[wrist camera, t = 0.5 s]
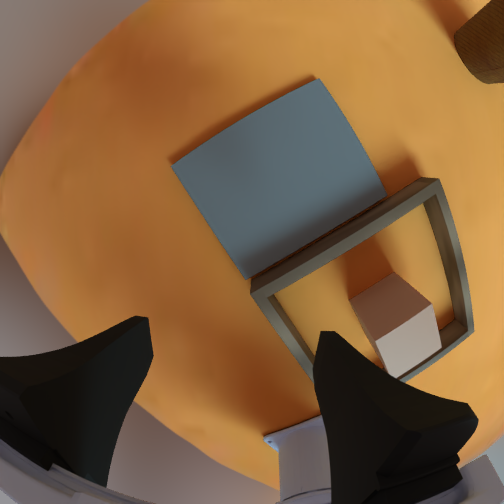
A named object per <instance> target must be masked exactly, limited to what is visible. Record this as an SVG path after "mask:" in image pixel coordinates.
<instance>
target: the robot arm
mask: <svg viewBox="0 0 504 504" xmlns="http://www.w3.org/2000/svg"><path fill="white" fill-rule="evenodd" d="M153 356H154V355H153V348H152V342H151V335H150V327H149V320H148V317H141V316H134V317H131V318H129V319H127V320H125V321H123V322H121V323H119V324H117V325H115V326H113V327H111V328H109V329H107V330H105V331H103V332H101V333H99V334H97V335H95V336H93V337H90V338H88V339H86V340H84V341H82V342H79V343H77V344H74V345H71V346H68V347H65V348H62V349H59V350H55V351H51V352H46V353H42V354H36V355H30V356H20V357H0V489H1V490H2V491H3V492H4V493H5V494H7V495H8V496H9V497H10V498H11V499H13V500H14V501H15V502H17V503H18V504H154V503H151V502H147V501H143V500H140V499H136V498H134V497H130V496H127V495H124V494H121V493H119V492H116V491H113V490H110V489H108V488H106V486H107V480H108V475H109V469H110V464H111V460H112V456H113V452H114V449H115V445H116V441H117V438H118V435H119V432H120V429H121V427H122V424H123V421H124V418H125V416H126V413H127V411H128V409H129V407H130V406H131V404H132V402H133V400H134V398H135V396H136V394H137V392H138V391H139V389H140V387H141V385H142V383H143V381H144V379H145V377H146V375H147V373H148V370H149V368H150V365H151V362H152V359H153ZM312 370H313V380H314V388H315V392H316V396H317V400H318V404H319V407H320V411H321V415H320V416H318V417H315V418H313V419H310V420H308V421H305V422H303V423H300V424H298V425H295V426H292V427H290V428H287V429H284V430H281V431H278V432H275V433H272V434H269V435H266V436H264V437H263V440H264V441H265V442H266V443H267V444H268V445H270V446H271V447H272V448H273V449H275V450H276V451H277V452H278V453H279V475H280V502H276V504H501V503H502V502H503V501H504V486H503V484H502V482H501V480H500V478H499V476H498V475H497V473H496V471H495V469H494V467H493V466H492V463H491V462H490V460H489V458H488V456H487V455H483V456H481V457H480V458H478V459H476V460H474V461H472V462H470V463H468V464H466V465H465V466H463V467H462V468H460V469H458V467H457V465H456V464H457V463H458V462H459V461H460V458H459V456H458V454H457V453H458V452H459V451H460V449H461V448H462V447H463V446H464V445H465V444H466V442H467V441H468V440H469V439H470V437H471V436H472V435H473V433H474V432H475V430H476V428H477V425H478V418H477V416H476V415H475V413H474V412H473V410H472V409H471V408H470V406H469V405H468V403H464V402H459V401H454V400H449V399H445V398H441V397H438V396H435V395H432V394H429V393H426V392H424V391H421V390H419V389H417V388H414V387H412V386H410V385H408V384H406V383H404V382H402V381H400V380H398V379H397V378H395V377H393V376H391V375H390V374H388V373H387V372H385V371H383V370H382V369H381V368H379V367H378V366H376V365H375V364H374V363H372V362H371V361H370V360H368V359H367V358H366V357H365V356H363V355H362V354H361V353H360V352H359V351H357V350H356V349H355V348H354V347H353V346H352V345H350V344H349V343H348V342H347V341H346V340H345V339H344V338H342V337H341V336H340V335H339V334H338V333H336V332H335V331H321V332H320V337H319V342H318V346H317V351H316V355H315V360H314V364H313V368H312Z"/></svg>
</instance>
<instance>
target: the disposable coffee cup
mask: <svg viewBox="0 0 504 504" xmlns="http://www.w3.org/2000/svg"><path fill="white" fill-rule="evenodd" d="M454 40H455V45H456V48H457V51H458V53H459V55H460V57H461V59H462V61H463V62H464V64H465V65H466V67H467V68H468V69H469V71H470V72H471V73H472V74H473V75H474V76H475V77H476V78H477V79H479V80H480V81H481V82H483V83H486V84H493V83H504V0H491V1H490V2H489V3H487V4H486V6H484V7H483V8H482V9H481V10H480V11H479V12H478V13H477V14H475V15H474V16H473V17H472V18H471V19H470V20H469V21H468V22H466V24H465V25H463V26H462V27H461V28H460V29H459V30H458V31H457V32H456V33H455V36H454Z"/></svg>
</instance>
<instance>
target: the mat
mask: <svg viewBox="0 0 504 504" xmlns="http://www.w3.org/2000/svg"><path fill="white" fill-rule="evenodd" d="M171 167H172V169H173V170H174V172H175V174H176V175H177V177H178V178H179V180H180V181H181V183H182V185H183V186H184V188H185V189H186V191H187V192H188V194H189V195H190V197H191V198H192V200H193V202H194V203H195V205H196V206H197V208H198V209H199V211H200V212H201V214H202V215H203V217H204V218H205V220H206V221H207V223H208V224H209V226H210V227H211V229H212V230H213V232H214V234H215V235H216V237H217V238H218V240H219V241H220V243H221V244H222V246H223V247H224V249H225V250H226V252H227V253H228V255H229V256H230V258H231V259H232V261H233V262H234V263H235V265H236V266H237V268H238V269H239V271H240V272H241V274H242V275H243V277H244V278H245V280H247V279H248V278H250V277H252V276H253V275H255V274H257V273H259V272H260V271H262V270H264V269H266V268H267V267H269V266H271V265H272V264H274V263H276V262H278V261H279V260H281V259H283V258H284V257H286V256H288V255H290V254H291V253H293V252H295V251H296V250H298V249H300V248H301V247H303V246H305V245H307V244H308V243H310V242H312V241H313V240H315V239H317V238H318V237H320V236H322V235H323V234H325V233H327V232H328V231H330V230H332V229H333V228H335V227H337V226H338V225H340V224H342V223H343V222H345V221H347V220H348V219H350V218H351V217H353V216H355V215H356V214H358V213H360V212H361V211H363V210H365V209H366V208H368V207H369V206H371V205H373V204H374V203H376V202H378V201H379V200H381V199H382V198H384V197H386V196H387V193H386V191H385V189H384V187H383V185H382V183H381V181H380V179H379V177H378V175H377V173H376V171H375V169H374V167H373V165H372V163H371V161H370V159H369V157H368V155H367V154H366V152H365V150H364V148H363V146H362V145H361V143H360V141H359V139H358V137H357V136H356V134H355V132H354V131H353V129H352V127H351V126H350V124H349V122H348V121H347V119H346V117H345V116H344V114H343V113H342V111H341V110H340V108H339V106H338V105H337V103H336V102H335V100H334V99H333V97H332V96H331V94H330V93H329V92H328V90H327V89H326V87H325V86H324V84H323V83H322V82H321V80H320V79H316V80H314V81H312V82H310V83H308V84H306V85H304V86H302V87H300V88H298V89H296V90H294V91H292V92H290V93H288V94H286V95H284V96H282V97H280V98H278V99H276V100H274V101H273V102H271V103H269V104H267V105H265V106H264V107H262V108H260V109H258V110H256V111H255V112H253V113H251V114H249V115H248V116H246V117H244V118H243V119H241V120H239V121H238V122H236V123H234V124H233V125H231V126H230V127H228V128H226V129H225V130H223V131H222V132H220V133H218V134H217V135H215V136H214V137H212V138H211V139H209V140H208V141H206V142H205V143H203V144H202V145H200V146H199V147H197V148H196V149H194V150H193V151H191V152H190V153H189V154H187V155H186V156H184V157H183V158H181V159H180V160H179V161H177V162H176V163H175V164H173V165H172V166H171Z"/></svg>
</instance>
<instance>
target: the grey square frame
mask: <svg viewBox="0 0 504 504" xmlns="http://www.w3.org/2000/svg"><path fill="white" fill-rule="evenodd" d="M421 203H423V204H424V206H425V209H426V212H427V214H428V217H429V220H430V223H431V226H432V229H433V232H434V235H435V238H436V241H437V244H438V247H439V251H440V254H441V258H442V261H443V265H444V269H445V273H446V277H447V281H448V285H449V290H450V294H451V299H452V304H453V310H454V315H455V320H453V321H452V322H451V323H450V324H448V325H447V326H446V327H444V328H443V329H442V330H440V331H439V336H440V341H441V346H442V348H440V349H439V350H438V351H436V352H435V353H433V354H432V355H431V356H429V357H428V358H426V359H425V360H423V361H422V362H420V363H419V364H417V365H416V366H414V367H413V368H411V369H410V370H408V371H407V372H405V373H403V374H402V375H400V376H399V377H397V379H398V380H400V381H402V382H404V383H405V382H406V381H408V380H409V379H411V378H413V377H414V376H416V375H417V374H419V373H420V372H422V371H423V370H425V369H426V368H428V367H429V366H431V365H432V364H433V363H435V362H436V361H438V360H439V359H440V358H442V357H443V356H444V355H446V354H447V353H448V352H450V351H451V350H452V349H454V348H455V347H456V346H457V345H459V344H460V343H461V342H462V341H464V340H465V339H466V338H467V337H469V336H470V335H471V334H472V333H473V332H474V322H473V312H472V304H471V297H470V291H469V284H468V279H467V273H466V268H465V264H464V259H463V255H462V250H461V246H460V242H459V238H458V235H457V231H456V227H455V224H454V220H453V217H452V214H451V211H450V208H449V205H448V202H447V199H446V196H445V193H444V190H443V188H442V185H441V182H440V180H439V179H438V178H426V177H421V178H419V179H418V180H416V181H415V182H413V183H411V184H410V185H408V186H407V187H405V188H404V189H402V190H400V191H399V192H397V193H396V194H394V195H392V196H391V197H389V198H388V199H386V200H384V201H383V202H381V203H380V204H378V205H376V206H375V207H373V208H372V209H370V210H368V211H367V212H365V213H363V214H362V215H360V216H359V217H357V218H355V219H354V220H352V221H350V222H349V223H347V224H345V225H344V226H342V227H341V228H339V229H337V230H336V231H334V232H332V233H331V234H329V235H327V236H326V237H324V238H322V239H321V240H319V241H317V242H316V243H314V244H312V245H310V246H309V247H307V248H305V249H304V250H302V251H300V252H299V253H297V254H295V255H294V256H292V257H290V258H288V259H287V260H285V261H283V262H282V263H280V264H278V265H276V266H275V267H273V268H271V269H270V270H268V271H266V272H264V273H263V274H261V275H259V276H257V277H256V278H254V279H252V280H251V289H250V295H251V296H252V298H253V299H254V300H255V302H256V303H257V305H258V306H259V308H260V309H261V311H262V312H263V313H264V315H265V316H266V318H267V319H268V321H269V322H270V323H271V325H272V326H273V328H274V329H275V330H276V332H277V333H278V335H279V336H280V338H281V339H282V340H283V342H284V343H285V345H286V346H287V347H288V349H289V350H290V352H291V353H292V354H293V356H294V357H295V358H296V360H297V361H298V363H299V364H300V365H301V367H302V368H303V370H304V371H305V372H306V374H307V375H308V376H309V378H310V379H311V380H312V382H313V383H314V380H313V370H312V368H313V364H314V360H315V356H314V355H313V353H312V352H311V350H310V349H309V347H308V346H307V344H306V343H305V341H304V340H303V338H302V337H301V335H300V334H299V332H298V331H297V329H296V328H295V326H294V325H293V323H292V322H291V320H290V319H289V317H288V316H287V314H286V313H285V311H284V310H283V308H282V307H281V305H280V304H279V302H278V300H277V299H276V297H275V296H274V293H276V292H278V291H280V290H282V289H283V288H285V287H287V286H289V285H290V284H292V283H294V282H296V281H297V280H299V279H301V278H303V277H304V276H306V275H308V274H310V273H311V272H313V271H315V270H316V269H318V268H320V267H322V266H323V265H325V264H327V263H328V262H330V261H332V260H333V259H335V258H337V257H338V256H340V255H342V254H343V253H345V252H347V251H348V250H350V249H351V248H353V247H355V246H356V245H358V244H360V243H361V242H363V241H364V240H366V239H368V238H369V237H371V236H372V235H374V234H376V233H377V232H379V231H380V230H382V229H383V228H385V227H387V226H388V225H390V224H391V223H393V222H394V221H396V220H397V219H399V218H400V217H402V216H403V215H405V214H406V213H408V212H409V211H411V210H412V209H414V208H415V207H417V206H418V205H420V204H421ZM382 370H383V371H385V372H387V371H386V369H385V368H383V369H382Z"/></svg>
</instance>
